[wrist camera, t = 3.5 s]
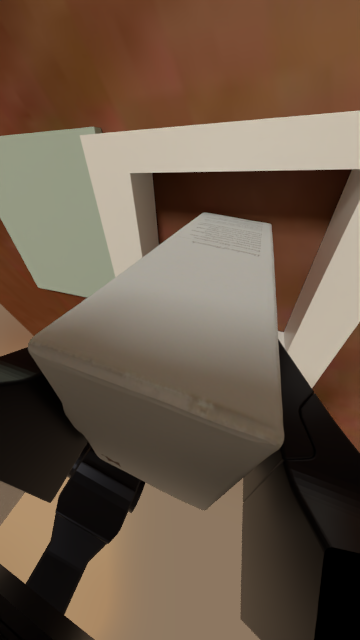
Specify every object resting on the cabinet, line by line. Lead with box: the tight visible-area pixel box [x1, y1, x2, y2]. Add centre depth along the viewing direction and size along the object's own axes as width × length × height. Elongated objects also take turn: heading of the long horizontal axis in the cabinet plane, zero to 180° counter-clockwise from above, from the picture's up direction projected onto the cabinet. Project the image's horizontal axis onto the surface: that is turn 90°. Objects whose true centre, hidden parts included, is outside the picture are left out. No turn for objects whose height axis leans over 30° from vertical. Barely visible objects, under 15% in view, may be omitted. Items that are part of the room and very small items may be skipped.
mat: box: [0, 127, 115, 297], centre depth 16 cm, size 12×12×1 cm
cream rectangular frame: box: [80, 111, 360, 388], centre depth 14 cm, size 20×15×3 cm
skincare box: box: [28, 212, 284, 510], centre depth 9 cm, size 6×4×12 cm
